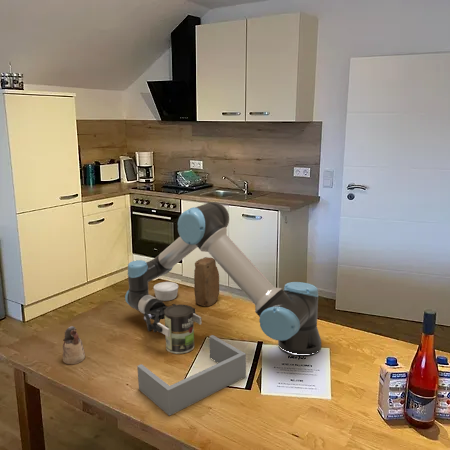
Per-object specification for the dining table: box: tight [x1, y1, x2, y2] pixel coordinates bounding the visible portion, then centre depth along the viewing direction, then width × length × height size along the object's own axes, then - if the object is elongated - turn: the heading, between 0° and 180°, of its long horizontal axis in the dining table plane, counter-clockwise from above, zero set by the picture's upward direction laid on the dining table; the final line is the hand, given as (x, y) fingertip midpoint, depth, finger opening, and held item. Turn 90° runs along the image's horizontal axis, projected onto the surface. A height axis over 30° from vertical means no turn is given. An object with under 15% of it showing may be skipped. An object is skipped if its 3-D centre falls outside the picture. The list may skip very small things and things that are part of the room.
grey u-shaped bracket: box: [136, 334, 247, 417], centre depth 142 cm, size 16×29×8 cm, turn 131°
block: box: [193, 256, 220, 307], centre depth 199 cm, size 11×8×20 cm
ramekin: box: [153, 281, 179, 302], centre depth 208 cm, size 11×11×5 cm
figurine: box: [62, 325, 86, 365], centre depth 156 cm, size 7×7×12 cm
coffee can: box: [164, 304, 195, 355], centre depth 163 cm, size 10×10×14 cm
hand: (185, 326), depth 160 cm, fingers open, 13 cm apart
